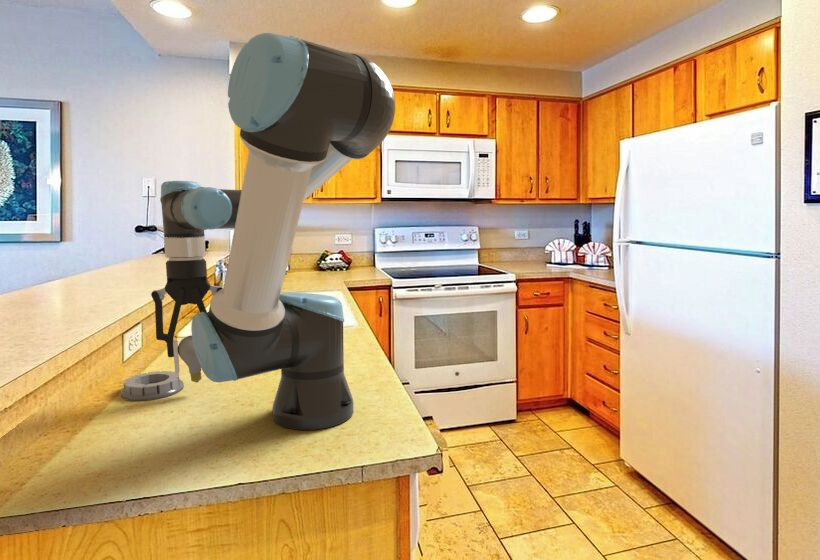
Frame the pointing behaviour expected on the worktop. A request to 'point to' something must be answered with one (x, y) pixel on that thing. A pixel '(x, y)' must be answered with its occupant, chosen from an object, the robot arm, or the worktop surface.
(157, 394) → the socket
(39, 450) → the worktop surface
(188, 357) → the light bulb
